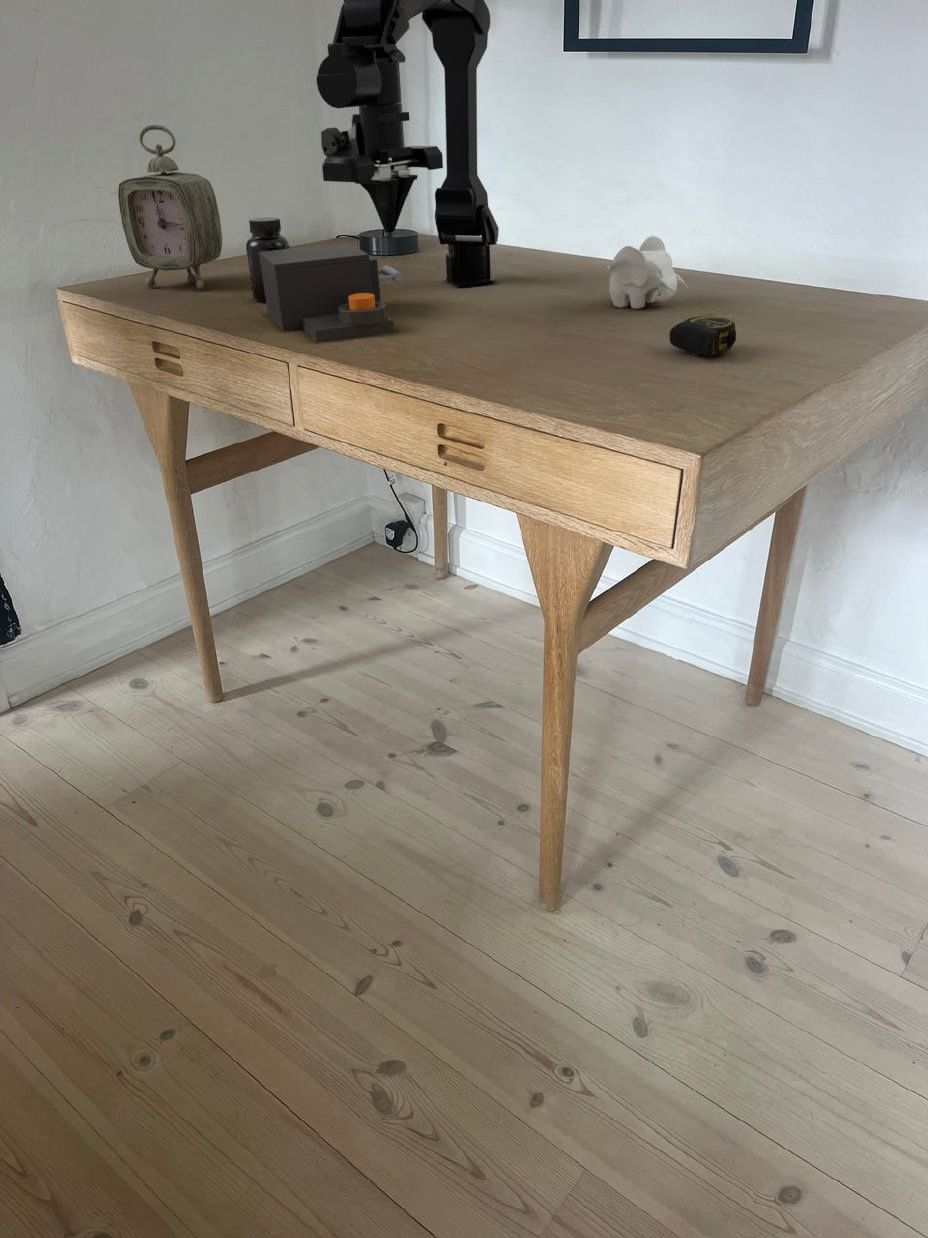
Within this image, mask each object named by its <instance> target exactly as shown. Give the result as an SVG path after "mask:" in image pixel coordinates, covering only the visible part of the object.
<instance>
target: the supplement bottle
mask: <svg viewBox="0 0 928 1238" xmlns="http://www.w3.org/2000/svg"><path fill="white" fill-rule="evenodd" d="M248 224H249V233H250V234H251V237H250V238H249V239H247V241H246V244H245V247H246V248H245V249H246V257H247V265H248V271H249V278H250V285H251V291H252V293H251V294H252V298H253V299H254V300H255V301H257V302H261V303H266V298H265V291H264V284H263V277H262V270H261V264H260V257H259V252H263V251H273V250H282V249H291V248H290V247H291V246H290V242H289V240H288V239H287V238H286V236H283V235H282V234H281V232H282V226H281V218H279V217H273V216H272V217H268V216H267V217H266V216H265V217H256V218H255V217H254V218H250V219H249V220H248Z"/></svg>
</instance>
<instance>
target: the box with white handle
mask: <svg viewBox="0 0 928 1238" xmlns="http://www.w3.org/2000/svg"><path fill="white" fill-rule="evenodd" d="M369 258H370V270H371V281H372V292H373V294H374V296H375V301H377V302H382V301H381V300H382V299H381V289H380V282H386V281H394V282H395V283H402V281H403V280H404V275H403V273H402V272H400V271H398V270H397V269H395V268H393V267H391V266H389V265H387V264H386V265H383V266H382V267H381V268H379V265H378V264H379V263H378V259H377V258H375V257H373V256H372V255H370V254H369ZM382 274H383V275H382ZM379 275H381V276H379Z"/></svg>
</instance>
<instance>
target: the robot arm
mask: <svg viewBox="0 0 928 1238" xmlns="http://www.w3.org/2000/svg"><path fill="white" fill-rule="evenodd" d="M419 14H421V19H422V21H423V22H424V24H425V25H426V27H427V28H428V30H429V31H430V33H431V37H432V38H431V39H432V47H433V50H434V52H435V54H436V56H437V58H438V60H439V62H440V63H441V65H442V67H443V72H444V109H445V110H444V112H445V113H444V116H445V117H444V118H445V158H446V160H445V162H446V165H445V166H446V176H445V178H444V180H443V182H442V184H441V186H440V187H436V189H435V192H434V200H435V202H434V203H435V211H434V222H435V226H436V227H435V228H436V233H437V236H438V240H439V244H440V245H441V246H443V245H447V247H448V249H447V251H448V253H446V254H445V269H446V270H445V271H446V278H445V281H446V282H448V283H450V284H452V285H454V286H456V287H457V288H463V287H472V286H480V285H487V284H489V285H490V284H494V283H495V278H492V275H491V246H494V245H497V243H498V239H499V231H500V230H499V229H500V228H499V226H498V223H497V221H496V220H495V217H494V215H493V212H492V211H491V208H490V207H489V197H488V191H487V190H486V188H485V186H484V184H483V182H482V180H481V178H480V177H479V175H478V77H477V76H478V75H477V73H478V72H477V71H478V67H479V65H480V63H481V62H482V59H483V57H484V54H486V51H487V49H488V40H489V31H490V28H491V13H490V10H489V7H488V5H487V3H486V1H485V0H343V4H342V6H341V8H340V12H339V16H338V19H337V23H336V28H335V32H334V35H333V40H332V43H328V44H327V56H326V57H325V58H324V59H322V61H321V62H320V65H319V67H318V70H317V76H316V87H317V91H318V92H319V95H320V97H321V98H322V100H323V101H324V102H325V103H326V104H327V105H328V106H330V107H332V108H335V109H345V108H346V109H347V108H357V107H358V113H353V114H352V117H351V128H350V129H347V130H342V131H340V130H339V128H337V127H335V126H334V127H327V128H325V129H323V130H322V131H320V137H321V138H320V141H321V142H320V144H321V149H322V153H323V155H324V156H325V158H324V160H323V162H322V164H321V171H322V179H323V182H335V183H337V182H338V183H354V184H356V185H360V186H361V187H362V188H363V189H364V190H365V191H366V192H367V193H368V195H369V197H370V200H371V201H372V203H373V205H374V208H375V210H376V213H377V215H378V218H379V221H380V223H381V226H382V228H383V230H384V232H385V233H389V234H391V233H394V232H395V231H396V228H397V224H398V223H399V219H400V216H401V213H402V211H403V208H404V206H405V202H406V200H407V197H408V195H409V194H410V191H411V189H412V186H413V184H414V182H415V181H416V180H418V176H419V175H418V174H411V171H410V168H421V169H422V168H423V169H427V170H428V171H434V170H439V169H443V168H444V163H443V162H444V161H443V160H444V159H443V158H444V157H443V152H442V151H441V150H440V148H439V146H437V145H409V146H405V131H404V122H410V112H409V111H403V101H402V87H401V86H402V84H401V71H400V70H401V69H400V64H403V63H405V62H406V56H405V54H404V53H403V52H402V50H400V49H399V47H397V43H398V42H399V41H400V40H401V39H402V38H403V37H404V35H405V34H406V33H407V32H408V31H409V30H410V28H411V27H410V20H411V19H413V18H414V17H416V16H418V15H419Z"/></svg>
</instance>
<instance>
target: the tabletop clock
mask: <svg viewBox="0 0 928 1238" xmlns="http://www.w3.org/2000/svg"><path fill="white" fill-rule="evenodd" d="M157 130H158V131H162V132H165V133H167V134H168V135H169V136H170V138H171V141H172V145H170V147H168V148H165V149H163V146H162V144H160V143H158V144H156V145H155V146H154V147H155V149H153V148H151V147H148V146H147V145H145V143H144V141H143V140H144V139H143V138H144V136H145V134H147V132H149V131H157ZM139 143H140V145H141V147H142V149H144V150H145V151H146V152H148V153H149V154H152V155H156V156H155V157H153V158H151V159H150V160H149V162H148V165H147V168H146V169H147V170H146V172H147V173H153V174H149V175H142V176H138V177H133V178H127V179H125V180H123V181H121V182H120V183H119V184H118V192H117V193H118V194H117V197H118V206H119V212H120V219H121V224H122V229H123V232H124V237H125V239H126V243H127V246H128V248H129V252H130V255H131V256H132V258H133V260H134V262H135V263H136V264H138V265H139V266H141V267H144V268H146V269H151V270H152V273H151V276H150V277H147V278H146V280H145V284H146V286H147V287H148V288H154V287H155V286H156V279H155V278H156V276H157V274H158V272H159V270H160V271H181V270H186V272H187V274H188V275H187V276H186V277H187V278H186V279H187V282H188V283H189V284H195V283H196V284H195V286H196V288H197V290H200V291H203V290H205V289H206V287H207V285H206V282H205V281H204V280H203V279H202V277H201V271H200V266H201V265H204V264H206V263H210V262H213V261H215V260H217V259H219V258H220V257H221V254H222V249H223V232H222V225H221V217H220V212H219V206H218V202H217V198H216V197H217V196H216V193H215V190H214V188H213V186H212V183H211V182H210V181H209V180H208V179H207V178H205V177H204V176H202V175H200V174H197V173H190V172H181V171H179V170H180V169H179V167H178V165H177V163H176V162H175V160H173V158H171V157H169V156H166V155H167V154H169V153H171V152H173V151H174V149H175V147H176V138H175V136H174V134H173V132H172V131H171V130H170V129H169V128H167V127H166V126H163V125H159V124H151V125H147V126H145V127H144V128H143V129H141V131H140V133H139ZM164 155H165V156H164ZM191 268H192V269H193V271H194V273H195V274H193V273H192V269H191Z"/></svg>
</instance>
